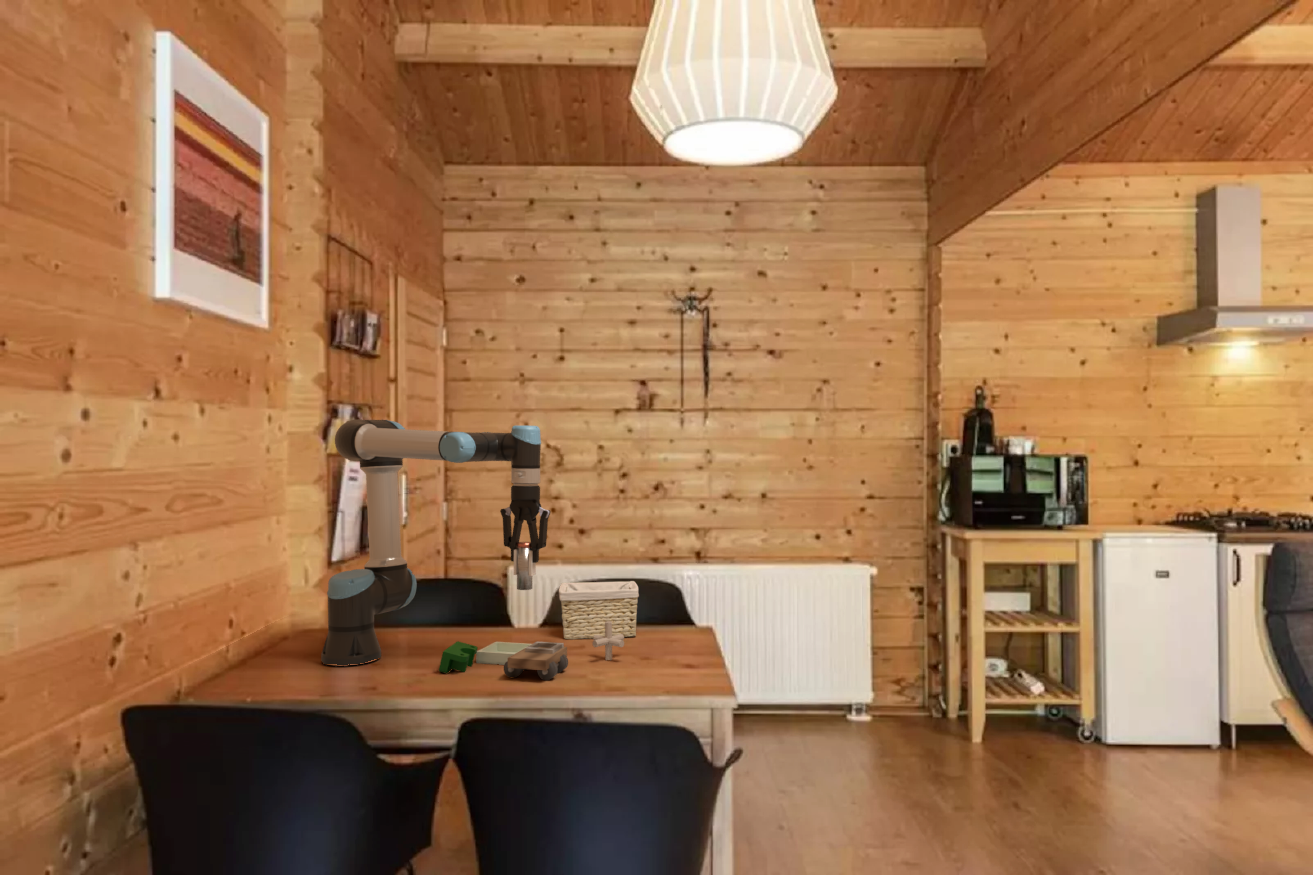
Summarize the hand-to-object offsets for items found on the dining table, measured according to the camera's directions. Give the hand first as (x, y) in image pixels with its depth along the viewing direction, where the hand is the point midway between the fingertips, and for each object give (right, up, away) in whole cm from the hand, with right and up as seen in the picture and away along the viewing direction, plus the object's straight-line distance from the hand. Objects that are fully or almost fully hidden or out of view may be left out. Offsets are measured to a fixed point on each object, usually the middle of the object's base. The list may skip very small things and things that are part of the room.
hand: (524, 574), depth 224 cm
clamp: (-16, -24, -3) cm, 29 cm away
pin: (0, -4, 0) cm, 4 cm away
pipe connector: (+22, -24, +5) cm, 33 cm away
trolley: (+5, -24, -9) cm, 26 cm away
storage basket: (+17, -24, +37) cm, 47 cm away
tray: (-6, -24, +7) cm, 25 cm away
